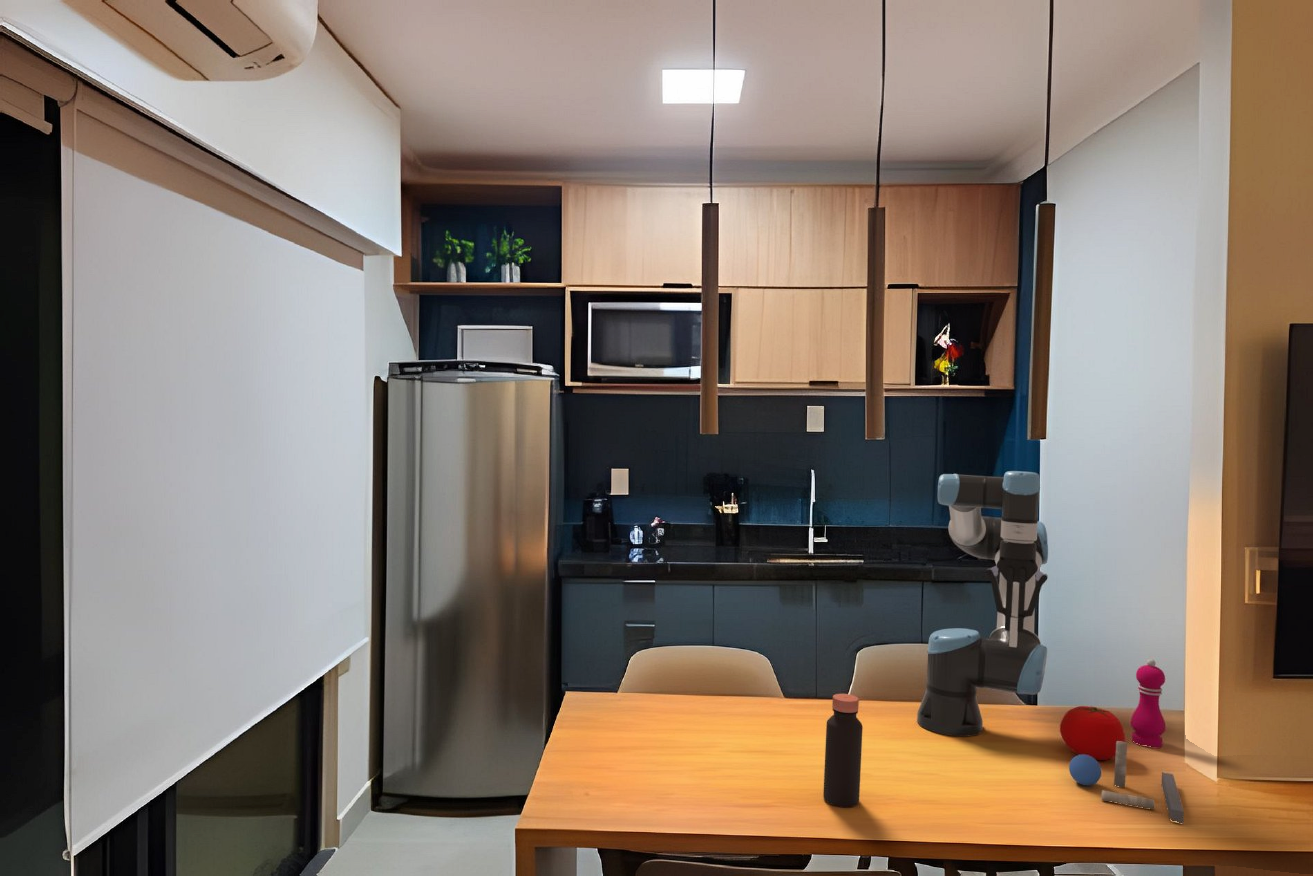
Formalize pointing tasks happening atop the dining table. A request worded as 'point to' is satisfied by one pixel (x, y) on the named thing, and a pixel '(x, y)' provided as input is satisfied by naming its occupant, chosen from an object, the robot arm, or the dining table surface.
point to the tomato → (1092, 732)
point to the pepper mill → (1148, 706)
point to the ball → (1085, 769)
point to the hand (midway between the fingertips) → (1013, 645)
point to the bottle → (843, 753)
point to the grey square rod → (1172, 797)
